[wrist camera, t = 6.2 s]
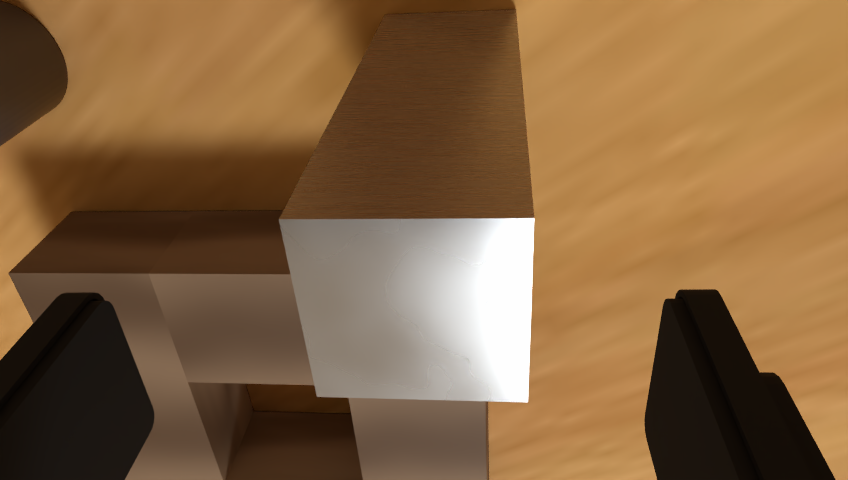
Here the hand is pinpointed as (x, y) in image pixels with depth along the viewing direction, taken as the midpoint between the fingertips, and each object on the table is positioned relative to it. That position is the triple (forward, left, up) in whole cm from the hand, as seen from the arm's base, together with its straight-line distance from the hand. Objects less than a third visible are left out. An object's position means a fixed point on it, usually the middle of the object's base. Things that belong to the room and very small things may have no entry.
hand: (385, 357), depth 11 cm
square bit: (-1, 0, -12) cm, 12 cm away
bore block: (+12, -7, -12) cm, 19 cm away
